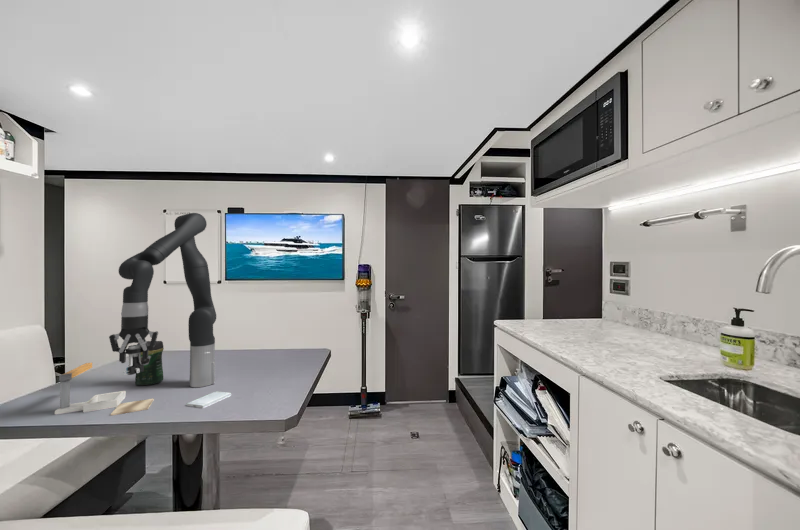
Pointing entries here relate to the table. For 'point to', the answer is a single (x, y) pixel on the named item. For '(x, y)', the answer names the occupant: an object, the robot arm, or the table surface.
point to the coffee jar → (151, 366)
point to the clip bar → (75, 372)
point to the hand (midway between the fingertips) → (133, 361)
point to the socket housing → (90, 405)
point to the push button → (134, 360)
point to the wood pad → (132, 406)
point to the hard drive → (208, 399)
